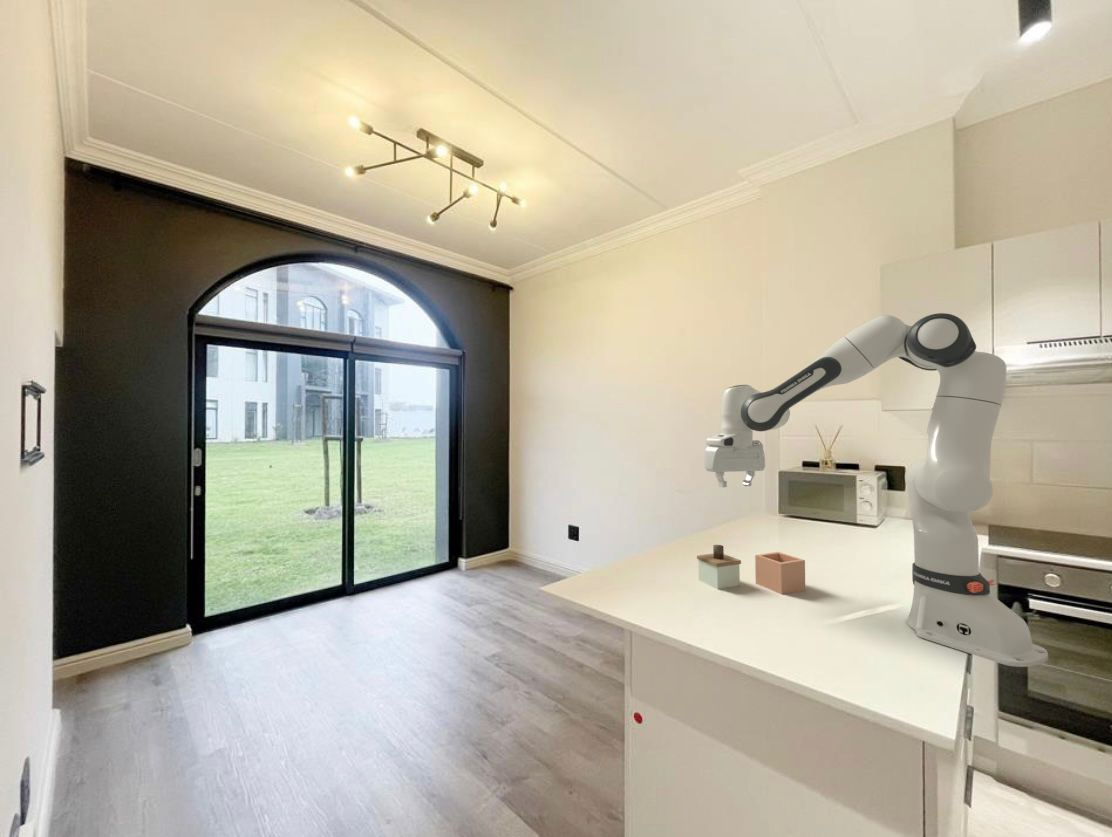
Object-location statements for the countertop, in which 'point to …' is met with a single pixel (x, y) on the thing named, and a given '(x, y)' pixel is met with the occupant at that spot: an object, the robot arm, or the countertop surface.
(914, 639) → the countertop surface
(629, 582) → the countertop surface
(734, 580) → the tub
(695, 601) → the countertop surface
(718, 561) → the lid
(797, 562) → the planter
